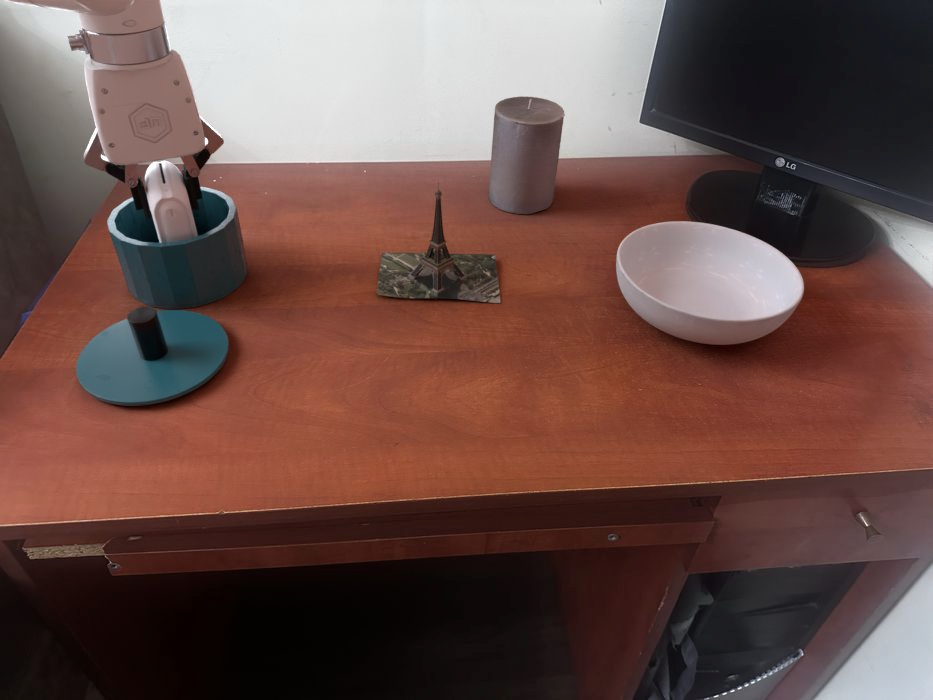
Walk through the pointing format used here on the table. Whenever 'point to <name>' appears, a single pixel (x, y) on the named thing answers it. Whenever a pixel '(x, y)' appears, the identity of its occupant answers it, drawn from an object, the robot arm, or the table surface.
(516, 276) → the table surface
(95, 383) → the lid
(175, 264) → the pot
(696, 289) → the serving bowl
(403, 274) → the eiffel tower figurine
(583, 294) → the table surface
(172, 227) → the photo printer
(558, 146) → the pillar candle
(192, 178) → the robot arm
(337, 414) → the table surface
